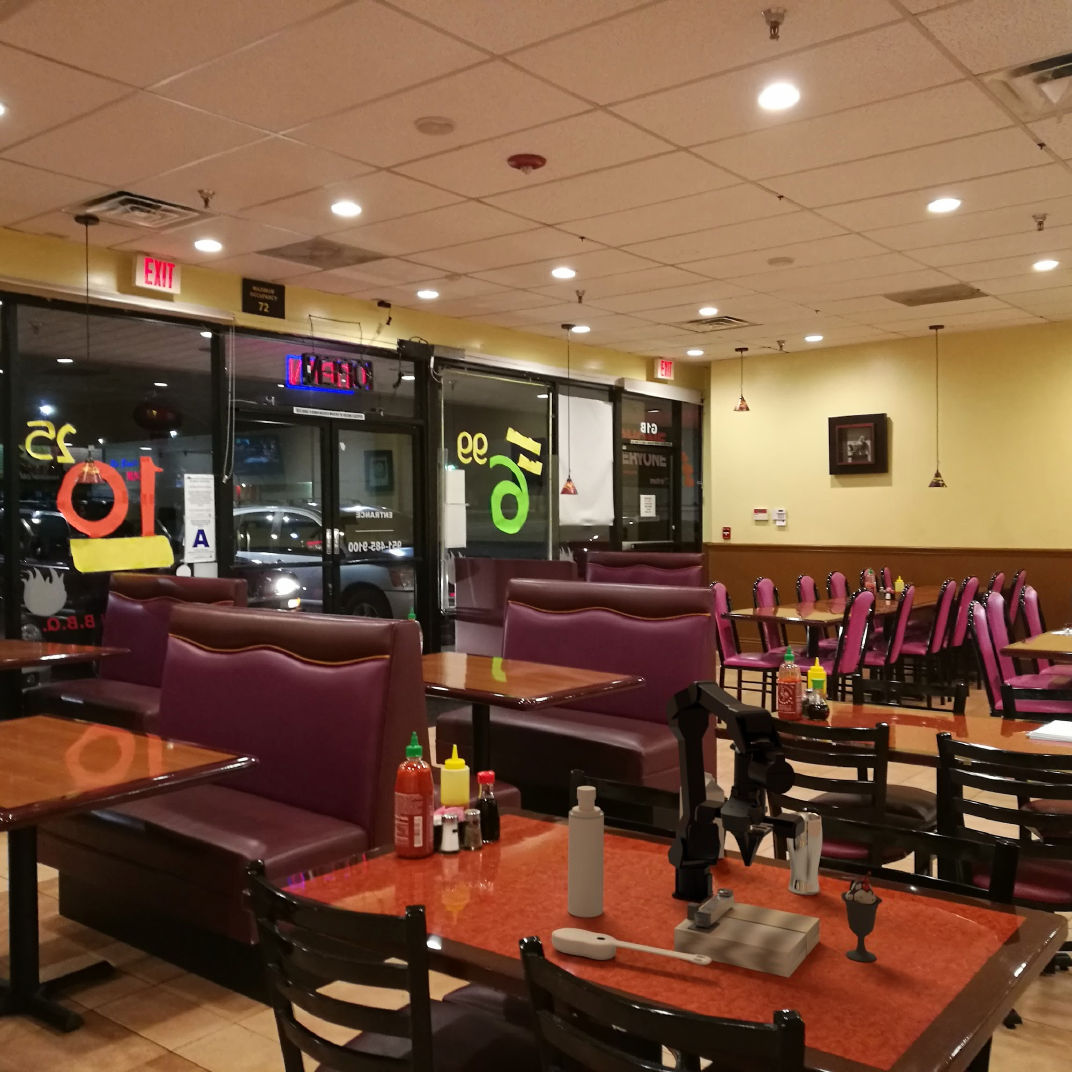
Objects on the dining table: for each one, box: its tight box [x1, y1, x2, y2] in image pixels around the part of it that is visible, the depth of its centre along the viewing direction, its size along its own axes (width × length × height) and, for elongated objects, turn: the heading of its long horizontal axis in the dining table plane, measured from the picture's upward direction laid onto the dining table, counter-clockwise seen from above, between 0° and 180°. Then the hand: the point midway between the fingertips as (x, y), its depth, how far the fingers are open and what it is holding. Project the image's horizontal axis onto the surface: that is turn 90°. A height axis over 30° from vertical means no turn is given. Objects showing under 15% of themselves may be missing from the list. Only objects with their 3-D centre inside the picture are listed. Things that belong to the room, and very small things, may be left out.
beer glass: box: [786, 811, 823, 896], centre depth 211 cm, size 7×7×15 cm
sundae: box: [840, 871, 883, 963], centre depth 178 cm, size 7×7×15 cm
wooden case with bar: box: [673, 897, 820, 979], centre depth 182 cm, size 20×18×6 cm
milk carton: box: [679, 771, 725, 860], centre depth 233 cm, size 7×7×19 cm
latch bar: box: [694, 887, 735, 928], centre depth 185 cm, size 13×3×3 cm, turn 150°
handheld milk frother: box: [551, 927, 713, 966], centre depth 175 cm, size 28×6×3 cm, turn 65°
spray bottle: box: [567, 785, 605, 918], centre depth 198 cm, size 7×7×25 cm
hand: (748, 866), depth 187 cm, fingers closed
